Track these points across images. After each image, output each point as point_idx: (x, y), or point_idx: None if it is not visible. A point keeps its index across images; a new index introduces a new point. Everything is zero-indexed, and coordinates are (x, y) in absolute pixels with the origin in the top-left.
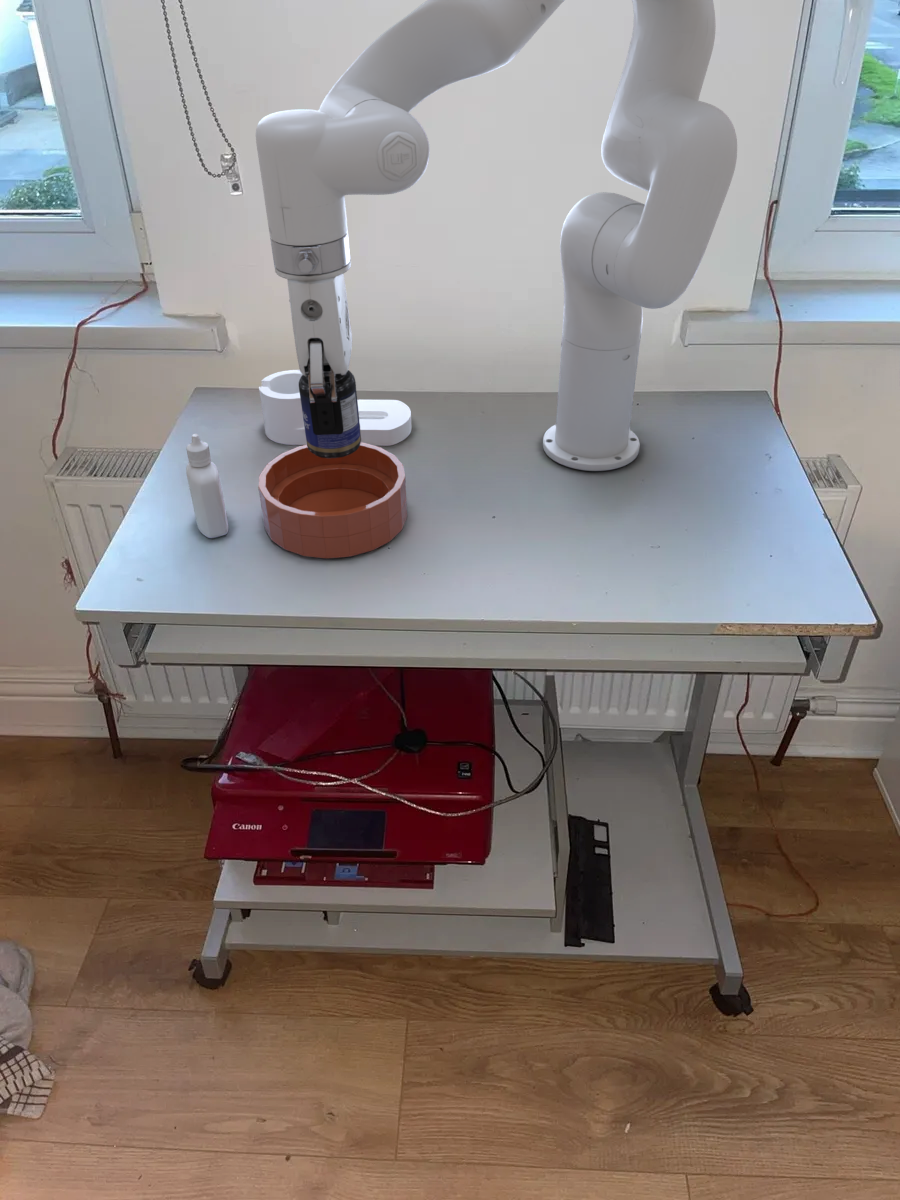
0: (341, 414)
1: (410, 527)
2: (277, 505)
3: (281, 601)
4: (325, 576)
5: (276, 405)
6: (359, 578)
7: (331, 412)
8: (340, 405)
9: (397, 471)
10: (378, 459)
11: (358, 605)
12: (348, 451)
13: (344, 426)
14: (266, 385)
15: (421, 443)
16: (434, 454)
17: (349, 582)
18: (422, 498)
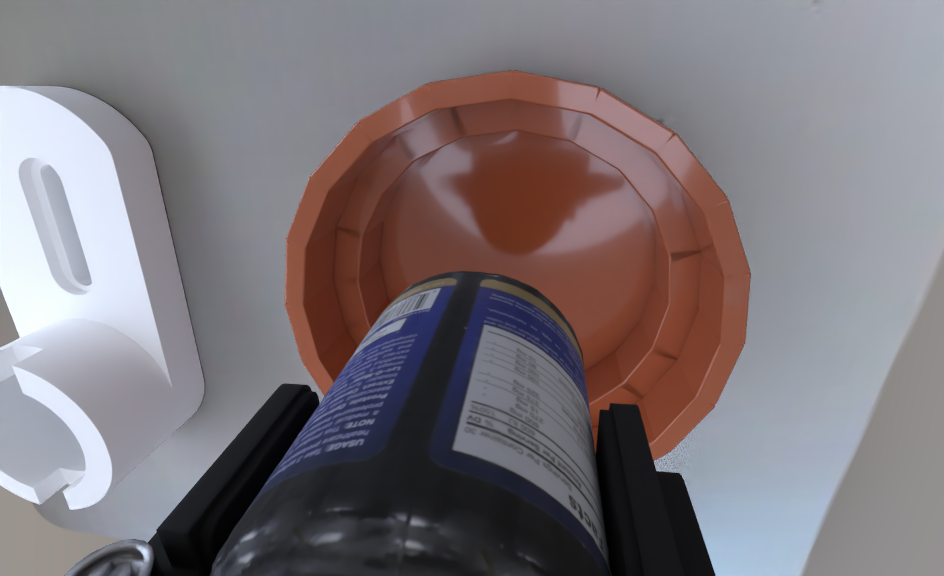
0: (653, 483)
1: (558, 62)
2: (657, 456)
3: (841, 368)
4: (761, 280)
5: (129, 459)
6: (792, 196)
7: (707, 567)
8: (664, 539)
9: (471, 104)
10: (349, 178)
11: (921, 193)
12: (565, 320)
13: (577, 399)
14: (48, 486)
15: (115, 50)
16: (163, 3)
17: (804, 221)
18: (405, 31)
